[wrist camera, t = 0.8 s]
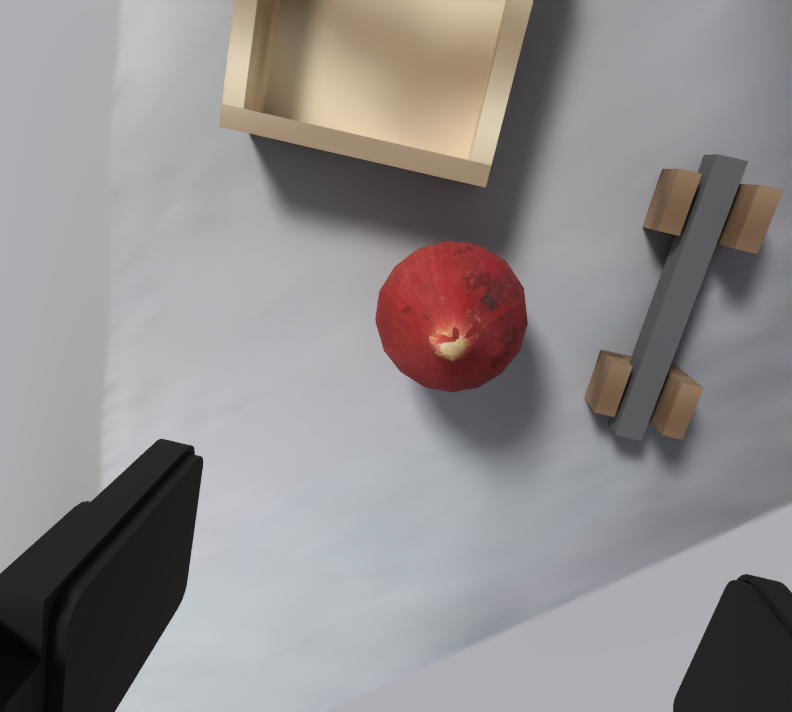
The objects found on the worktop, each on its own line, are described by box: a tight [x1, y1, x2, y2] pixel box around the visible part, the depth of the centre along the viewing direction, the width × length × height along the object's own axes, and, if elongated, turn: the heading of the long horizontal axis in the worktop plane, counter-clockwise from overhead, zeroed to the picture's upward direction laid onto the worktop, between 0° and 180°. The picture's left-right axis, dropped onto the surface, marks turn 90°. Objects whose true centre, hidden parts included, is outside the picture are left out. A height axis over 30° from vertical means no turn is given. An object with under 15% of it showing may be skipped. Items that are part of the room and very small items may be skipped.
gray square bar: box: [608, 154, 748, 441], centre depth 25 cm, size 12×1×1 cm, turn 167°
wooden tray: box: [219, 0, 533, 188], centre depth 22 cm, size 10×10×4 cm
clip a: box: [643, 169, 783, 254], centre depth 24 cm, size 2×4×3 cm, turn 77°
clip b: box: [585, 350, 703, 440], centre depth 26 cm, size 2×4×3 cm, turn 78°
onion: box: [375, 241, 528, 392], centre depth 23 cm, size 6×6×8 cm
